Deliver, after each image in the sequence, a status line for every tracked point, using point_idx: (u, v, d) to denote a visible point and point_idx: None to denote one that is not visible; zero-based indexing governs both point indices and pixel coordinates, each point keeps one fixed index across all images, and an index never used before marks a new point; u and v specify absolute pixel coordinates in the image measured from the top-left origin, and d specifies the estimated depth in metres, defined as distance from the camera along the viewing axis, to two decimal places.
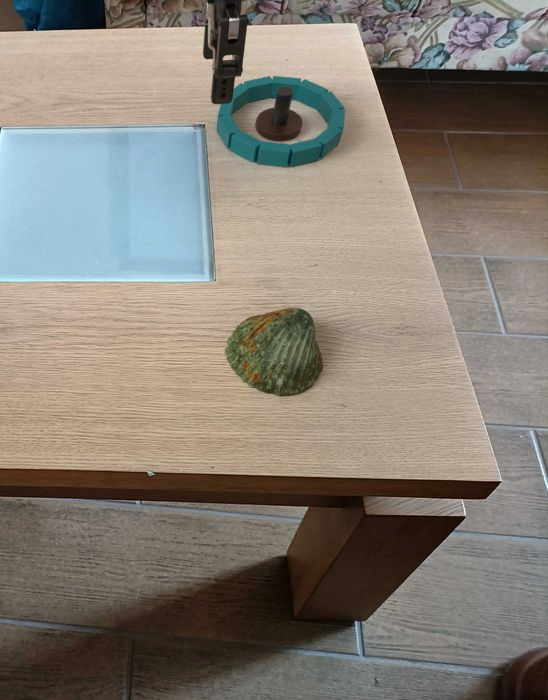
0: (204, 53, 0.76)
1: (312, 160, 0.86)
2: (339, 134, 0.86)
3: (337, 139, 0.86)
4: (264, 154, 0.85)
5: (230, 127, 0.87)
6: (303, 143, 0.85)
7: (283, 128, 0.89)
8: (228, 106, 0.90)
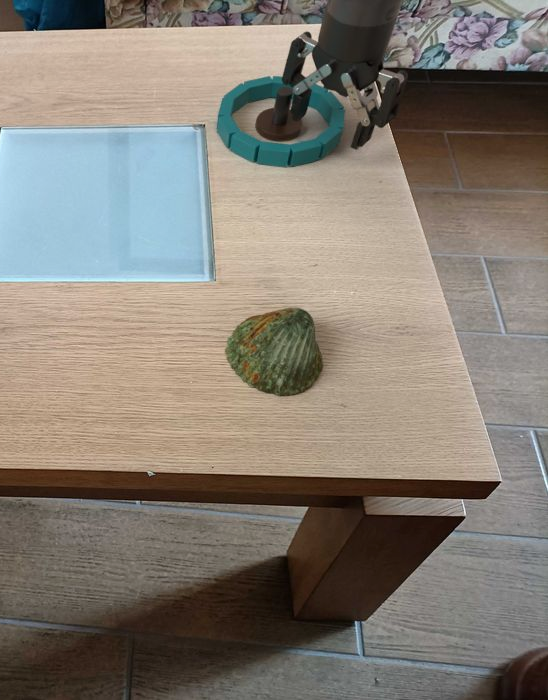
0: (297, 117, 0.86)
1: (312, 160, 0.86)
2: (339, 134, 0.86)
3: (337, 139, 0.86)
4: (264, 154, 0.85)
5: (230, 127, 0.87)
6: (303, 143, 0.85)
7: (283, 128, 0.89)
8: (228, 106, 0.90)
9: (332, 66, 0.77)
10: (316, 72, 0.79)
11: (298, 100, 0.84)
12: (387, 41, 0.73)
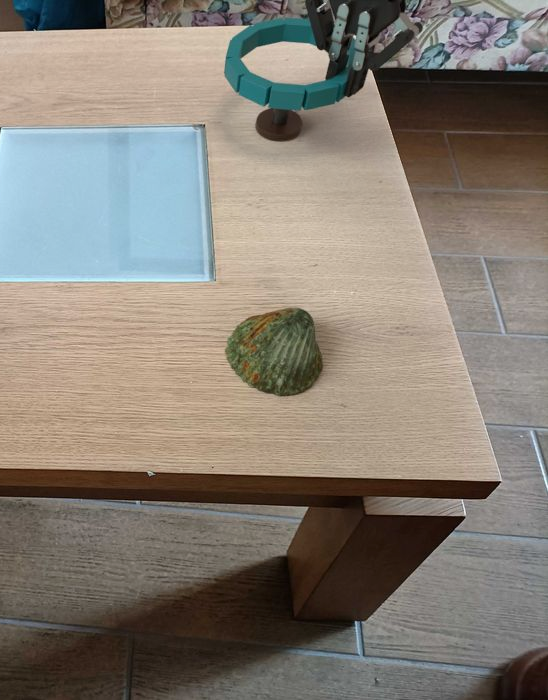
0: None
1: (328, 103, 0.79)
2: None
3: None
4: (276, 96, 0.78)
5: (239, 69, 0.81)
6: (319, 84, 0.78)
7: (283, 128, 0.89)
8: (236, 48, 0.83)
9: (350, 5, 0.71)
10: (337, 21, 0.73)
11: (334, 66, 0.78)
12: None
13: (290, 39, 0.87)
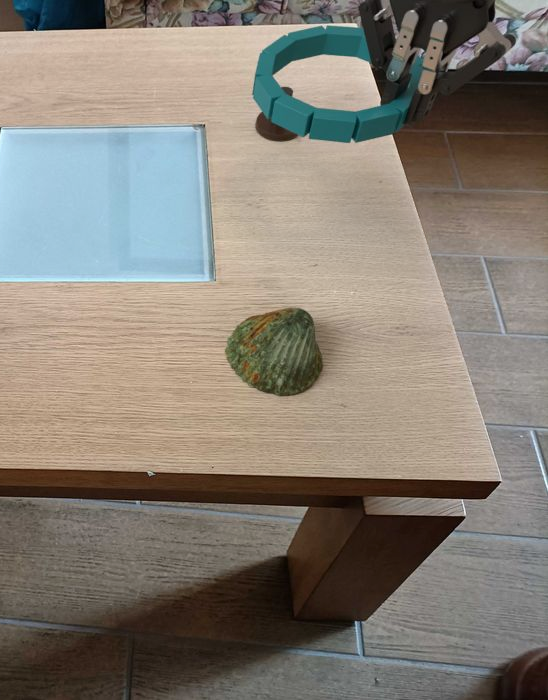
0: None
1: (385, 133, 0.63)
2: None
3: None
4: (319, 124, 0.62)
5: (272, 90, 0.65)
6: (374, 110, 0.62)
7: (283, 128, 0.89)
8: (268, 64, 0.67)
9: (420, 12, 0.56)
10: (401, 31, 0.57)
11: (393, 88, 0.62)
12: None
13: (333, 52, 0.71)
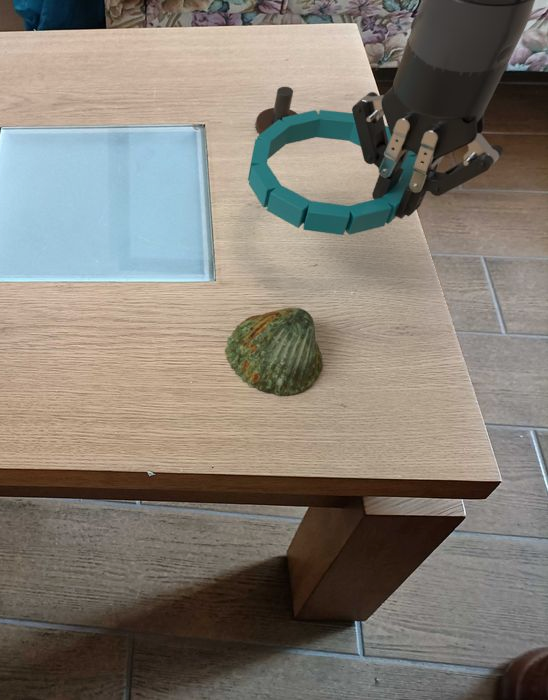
0: None
1: (377, 226, 0.65)
2: None
3: None
4: (314, 218, 0.64)
5: (267, 181, 0.66)
6: (366, 204, 0.64)
7: None
8: (263, 152, 0.69)
9: (411, 120, 0.57)
10: (393, 135, 0.59)
11: (385, 183, 0.64)
12: (493, 90, 0.53)
13: (326, 135, 0.73)
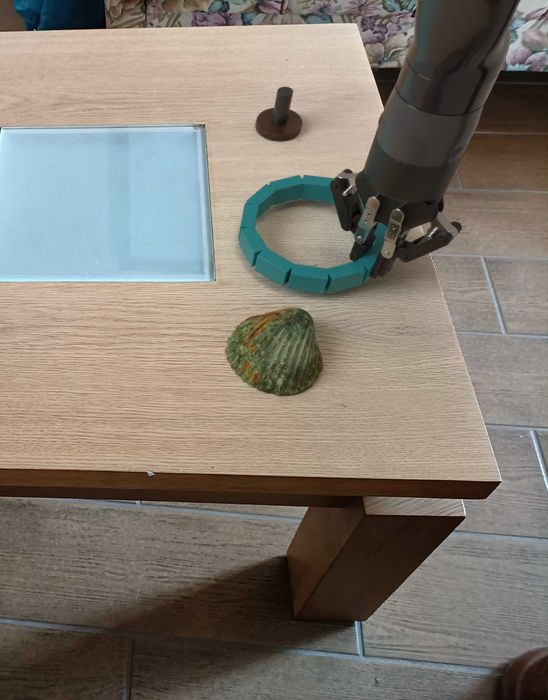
0: None
1: (353, 285, 0.72)
2: None
3: None
4: (296, 279, 0.71)
5: (255, 244, 0.74)
6: (343, 267, 0.71)
7: (283, 128, 0.89)
8: (252, 215, 0.76)
9: (380, 199, 0.65)
10: (365, 210, 0.66)
11: (360, 248, 0.71)
12: (451, 178, 0.60)
13: (309, 197, 0.80)
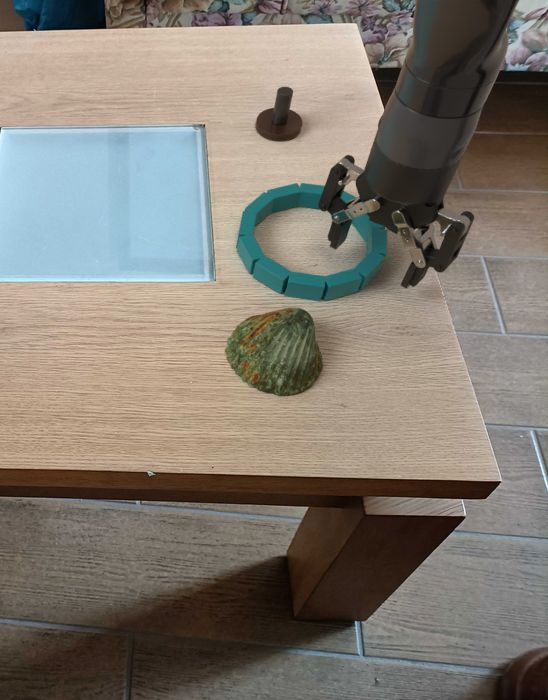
0: (335, 246, 0.74)
1: (350, 293, 0.73)
2: (382, 262, 0.73)
3: (379, 267, 0.74)
4: (294, 286, 0.72)
5: (253, 252, 0.75)
6: (340, 275, 0.72)
7: (283, 128, 0.89)
8: (250, 223, 0.77)
9: (381, 201, 0.65)
10: (361, 204, 0.67)
11: (337, 228, 0.72)
12: (450, 180, 0.60)
13: (306, 205, 0.81)
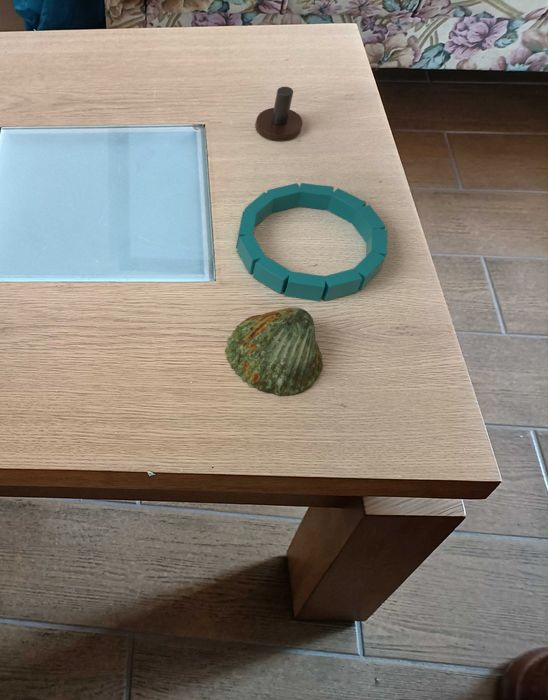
0: None
1: (350, 293, 0.73)
2: (382, 262, 0.73)
3: (379, 267, 0.74)
4: (294, 286, 0.72)
5: (253, 252, 0.75)
6: (340, 275, 0.72)
7: (283, 128, 0.89)
8: (250, 223, 0.77)
9: None
10: None
11: None
12: None
13: (306, 205, 0.81)
